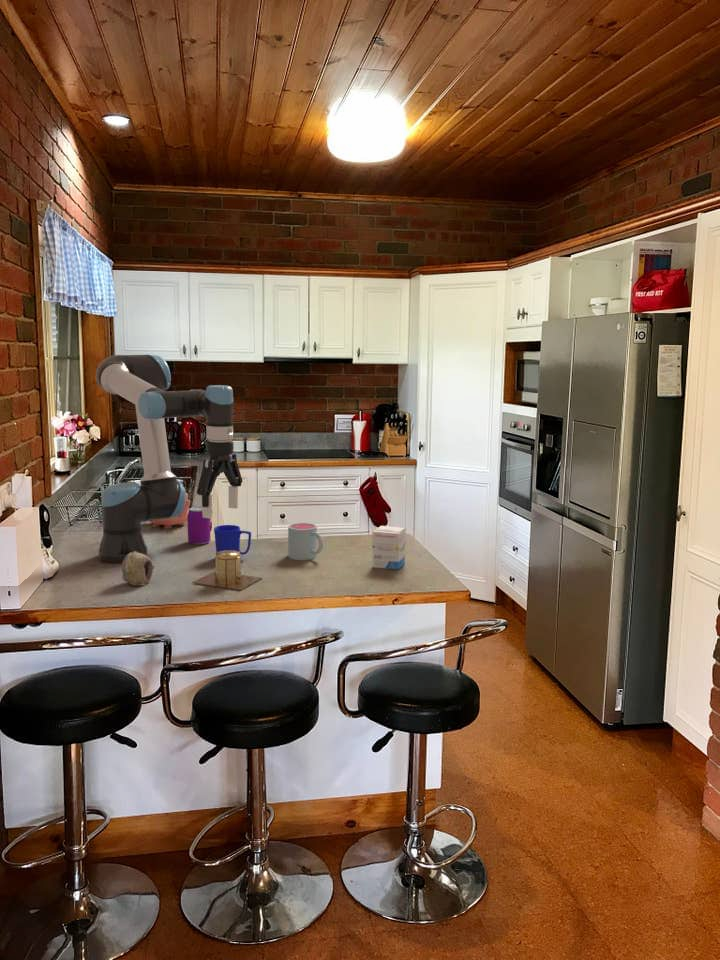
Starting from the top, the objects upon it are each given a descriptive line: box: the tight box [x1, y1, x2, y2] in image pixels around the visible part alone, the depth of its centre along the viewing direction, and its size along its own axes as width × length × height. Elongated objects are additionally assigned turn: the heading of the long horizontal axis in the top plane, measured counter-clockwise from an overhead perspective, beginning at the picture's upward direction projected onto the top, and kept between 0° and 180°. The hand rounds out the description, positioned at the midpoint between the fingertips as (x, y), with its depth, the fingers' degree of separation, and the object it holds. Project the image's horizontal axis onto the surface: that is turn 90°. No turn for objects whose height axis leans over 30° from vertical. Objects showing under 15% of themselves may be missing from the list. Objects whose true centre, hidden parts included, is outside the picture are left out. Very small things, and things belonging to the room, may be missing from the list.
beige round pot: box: [121, 551, 155, 586], centre depth 220 cm, size 9×8×10 cm
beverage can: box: [186, 506, 211, 546], centre depth 264 cm, size 8×8×12 cm
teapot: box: [149, 492, 192, 530], centre depth 287 cm, size 16×17×14 cm
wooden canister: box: [213, 550, 243, 584], centre depth 222 cm, size 7×9×8 cm
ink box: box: [371, 525, 406, 571], centre depth 240 cm, size 9×8×12 cm
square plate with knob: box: [192, 570, 263, 592], centre depth 222 cm, size 16×12×6 cm
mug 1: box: [213, 524, 252, 555], centre depth 245 cm, size 8×12×10 cm
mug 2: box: [287, 522, 324, 561], centre depth 247 cm, size 14×9×10 cm
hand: (220, 512), depth 223 cm, fingers open, 13 cm apart
